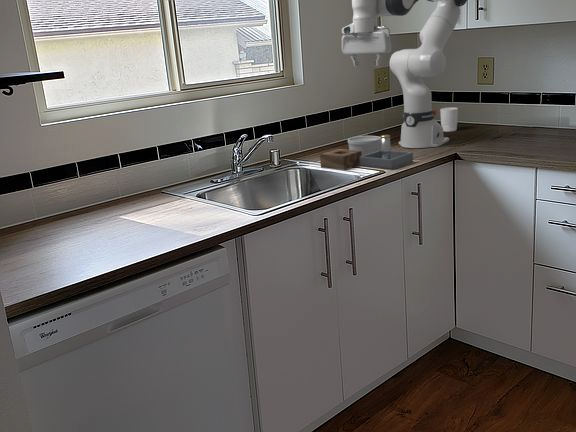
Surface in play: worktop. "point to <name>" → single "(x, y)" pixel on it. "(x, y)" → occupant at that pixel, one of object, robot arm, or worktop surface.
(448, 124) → the white cup
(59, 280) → the worktop surface
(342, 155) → the walnut pin block
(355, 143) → the ramekin
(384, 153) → the steel pin
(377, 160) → the slate tray
